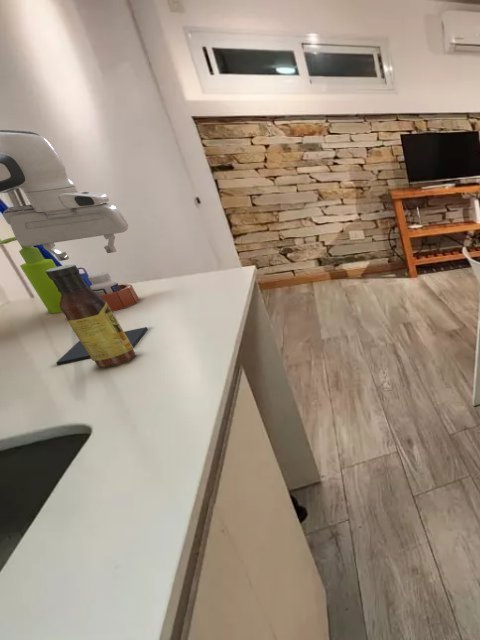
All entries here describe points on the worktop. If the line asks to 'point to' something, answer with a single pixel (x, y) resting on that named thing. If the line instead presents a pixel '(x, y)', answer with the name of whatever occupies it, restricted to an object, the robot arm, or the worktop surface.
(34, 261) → the soap dispenser
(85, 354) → the mat
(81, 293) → the sauce bottle
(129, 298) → the pot
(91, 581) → the worktop surface
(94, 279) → the pill bottle
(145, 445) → the worktop surface
